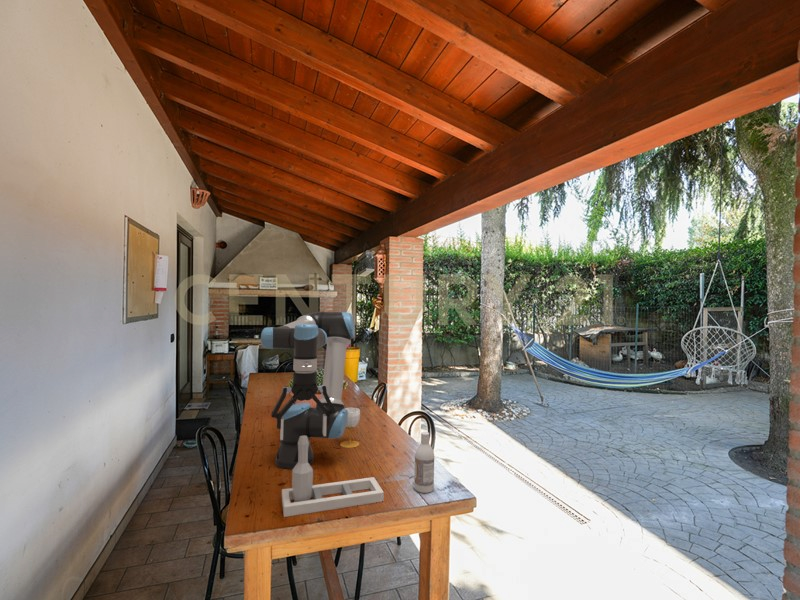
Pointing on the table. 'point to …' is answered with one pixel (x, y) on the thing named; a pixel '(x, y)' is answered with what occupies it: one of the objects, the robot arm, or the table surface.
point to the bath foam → (424, 466)
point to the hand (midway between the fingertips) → (303, 436)
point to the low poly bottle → (302, 473)
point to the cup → (351, 426)
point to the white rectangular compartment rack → (333, 502)
